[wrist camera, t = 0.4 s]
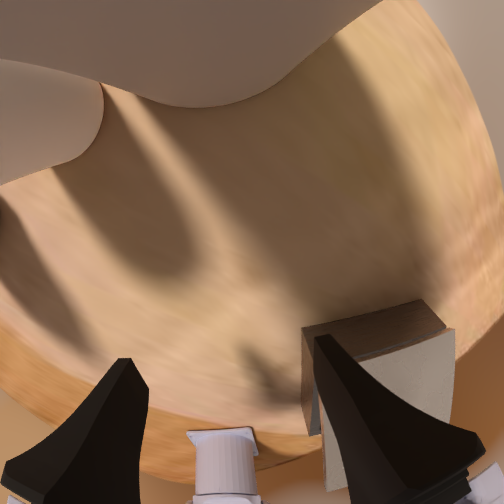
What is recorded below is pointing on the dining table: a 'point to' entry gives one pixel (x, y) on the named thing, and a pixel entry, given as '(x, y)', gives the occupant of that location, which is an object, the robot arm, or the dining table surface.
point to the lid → (401, 388)
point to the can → (44, 117)
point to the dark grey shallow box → (363, 343)
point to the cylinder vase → (174, 42)
